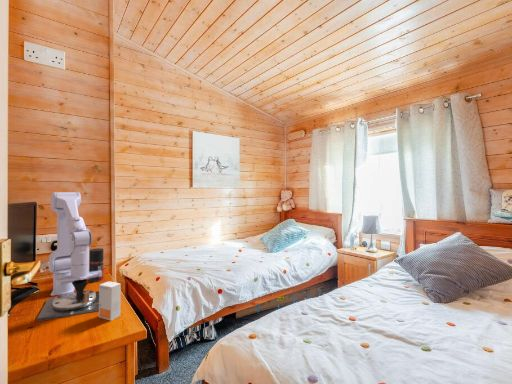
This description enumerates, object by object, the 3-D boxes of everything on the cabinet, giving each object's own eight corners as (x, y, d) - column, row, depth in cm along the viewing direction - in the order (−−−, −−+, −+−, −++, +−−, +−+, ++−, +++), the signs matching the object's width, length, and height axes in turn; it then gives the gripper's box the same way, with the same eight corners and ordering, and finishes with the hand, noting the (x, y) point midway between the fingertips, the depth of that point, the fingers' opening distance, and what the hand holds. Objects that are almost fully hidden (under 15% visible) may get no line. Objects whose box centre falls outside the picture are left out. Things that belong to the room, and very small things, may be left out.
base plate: (47, 301, 108) (47, 298, 108) (104, 292, 118) (104, 290, 118) (36, 323, 92) (36, 319, 92) (103, 311, 101) (103, 308, 101)
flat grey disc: (45, 304, 103) (45, 290, 102) (84, 292, 115) (84, 279, 115) (66, 315, 95) (66, 299, 95) (105, 300, 107) (105, 287, 107)
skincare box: (98, 318, 96) (98, 284, 96) (108, 312, 100) (108, 280, 100) (111, 321, 94) (111, 287, 93) (121, 315, 98) (121, 283, 97)
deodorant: (96, 282, 129) (97, 251, 129) (86, 281, 130) (86, 250, 130) (106, 278, 135) (106, 248, 135) (95, 277, 136) (96, 248, 136)
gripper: (59, 270, 92) (59, 309, 93) (105, 261, 103) (104, 296, 104) (53, 265, 97) (53, 303, 97) (98, 258, 108) (97, 291, 108)
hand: (79, 299), depth 101 cm, fingers closed, pressing on flat grey disc
